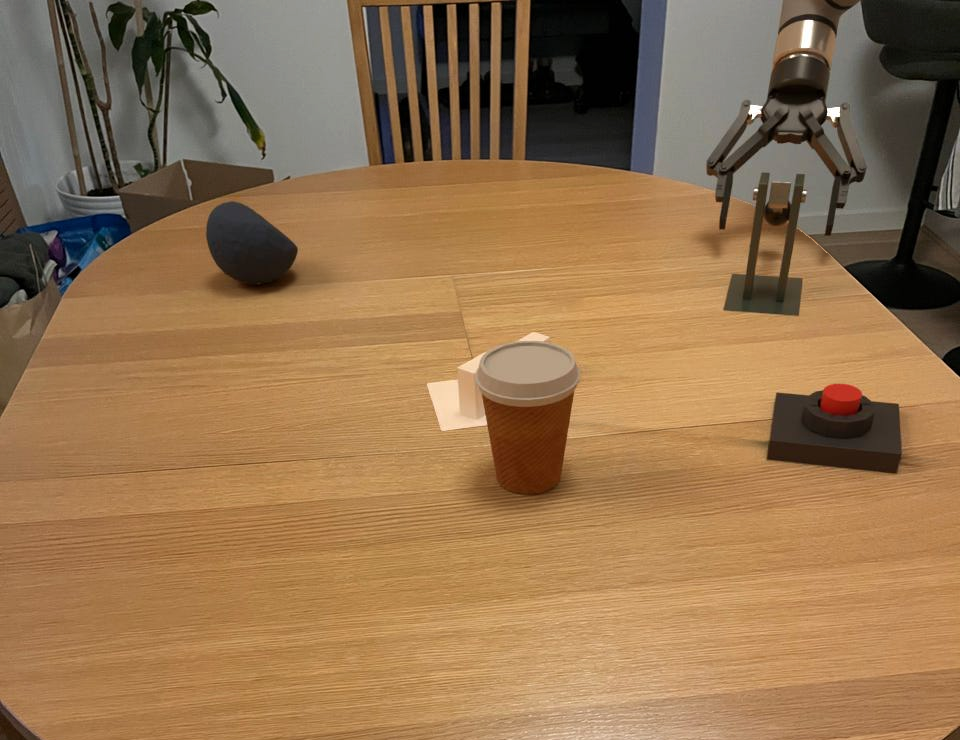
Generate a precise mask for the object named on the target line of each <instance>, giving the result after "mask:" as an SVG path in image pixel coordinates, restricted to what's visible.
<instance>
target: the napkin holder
mask: <svg viewBox="0 0 960 740" xmlns="http://www.w3.org/2000/svg"><path fill="white" fill-rule="evenodd" d="M517 341H543V342H549V343H551V336H548V335H545V334H542V333H539V332H535V331H531V332H530V333H528V334H527V335H524V336H523V337H522V338H520V339H517V340H516V341H515V342H517ZM486 352H487V351H484V352H482V353H480V354H479V355H477V356H475V357H474V358H472V359H470V360H468V361H466V362H464V363H463V364H461V365H460V366H457V367H456V372H457V379H449V380H441V381H433V382H426V387H427V390H428V393H429V396H430V399H431V403H432V406H433V409H434V412H435V415H436V419H437V422H438V425H439V427H440V431H441V432H445V431H453V430H454V431H455V430H461V429H468V428H476V427H485V426H487V421H486V415H485V410H484V404H483V398H482V393H481V391H480V390H479V387H478V386H477V384H476V381H475V373H476V371H477V369H478V368H479V363H480V360H481V358H482V356H483V355H484V354H485V353H486Z"/></svg>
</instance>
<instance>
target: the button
mask: <svg viewBox="0 0 960 740" xmlns="http://www.w3.org/2000/svg"><path fill="white" fill-rule="evenodd" d="M862 395H863V391H862V390H861V389H860V388H858V387H856V386H854V385H851V384H849V383H848V384H847V383H832V384H829V385H826V386H825V387H824V388H823V394H822V399H821V403H820V409H821V410H823V411H824V412H827V413H830V414H833V415H841V416H847V415H853V414H857V412H858V410H859V406H860V402H861V398H862Z"/></svg>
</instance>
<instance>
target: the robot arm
mask: <svg viewBox="0 0 960 740" xmlns="http://www.w3.org/2000/svg"><path fill="white" fill-rule="evenodd" d="M861 1H862V0H782V4H781V5H782V6H781V12H780V17H779V23H778V24H779V25H778V30H777V38H776V40H775V48H774V52H773V53H774V54H773V58H772V59H773V60H772V67H771V68H772V69H771V73H770V79H769V84H768V90H767V95H766V100H765V103H764V104H763V105H756V104H755V105H754V104H752V102H751V100H749V99H744V100H743V101H742V102H741V106H740V109H739V113H738V115H737V117H736V118H735V120H734V121H733V122H732V124H731V125H730V126H729V128H728V130H727V131H726V133H725V134H724V135H723V137H722V138H721V139H720V141H719V142H718V144H716V147H715V148H714V149H713V150H712V152H711V153H710V155H709V156H708V158H707V159H706V167H705V168H706V169H705V170H706V175H707V176H709V177H712V176H714V177H715V178H717V181H716V187H715V191H714V192H715V193H714V194H715V195H714V199H715V203H721V208H720V213H719V219H718V222H719V223H718V224H719V225H718V229H719V230H720V231H723V230H724V231H725V230H726V226H727V225H726V224H727V219H728V214H729V207H730V201H731V195H732V189H733V185H734V182H733V181H734V174H735V173H736V172H737V171H738V170H739V169H741V168H742V166H744V165H745V164H746V163H747V162H748V161H749V160H751V158H753V157H754V156H755V155H756V154H757V153H758V152H759V151H760V150H762V148H766V147H767V146H768V145H769V144H770V143H771V142H772V141H775V142H776V144H779V145H781V144H787V143H790V144H794V145H802V143H804V142H806V143H807V144H808V146H809V147H810V148H811V150H814V151H815V153H816V154H817V156H818V157H819V158H820V160H821V161H822V162H823V164H824V166H825V167H826V168H827V169H828V171H829V172H830V174H831V175H832V176H833V178H834V180H833V185H832V188H831V194H830V201H829V207H828V211H827V212H828V213H827V218H826V224H825V230H824V236H825V237H826V236H828V237H830V236H832V232H833V227H834V223H835V217H836V212H837V209H838V210H839V209H840V210H841V209H842V210H843V209H844V208H845V206H846V203H847V201H848V200H847V199H848V194H849V188H850V185H852V184H853V183H858V184H859V183H862V182H863V181H864V178H865V176H866V174H867V169H868V166H867V164H866V161H865V157H864V155H863V153H862V150H861V147H860V144H859V141H858V139H857V136H856V133H855V130H854V128H853V125H852V122H851V120H850V109H851V107H850V103H848V102H841V104H840V105H839V107H830V108H829V107H828V106H827V103H826V100H827V95H828V89H829V83H830V77H831V72H830V71H831V69H832V64H833V59H834V54H835V53H834V52H835V47H836V42H837V37H838V36H837V35H838V28H839V23H840V19H841V17H842V15H843V14H845V13H846V12H847V11H849V10H850V9H853V7H854V6H856V5H857V4H858V3H860V2H861ZM758 118H760V121H761V122H762V124H761V125H760V126H759V127H758V129H757V130H756V131H755V133H753V134H752V135H751V136H750V137H749V138H748V139H747V140H745V142H744V143H743V144H741V145H740V146H738V148H737V149H736V150H735V151H734V152H732V154H731V155H729V154H730V153H731V151H732V150H733V149H734V147H735V146H736V144H737V143H738V141H739V140H740V139H741V137H742V136H743V134H744V133H745V132H746V129H747V127H748V126H751V125H752V124H753V123H754V122H755V120H756V119H758ZM826 121H829V122H830V123H831V126H832V128H835V129H836V132H837V135H838V136H837V137H838V139H839V142H840V145H841V147H842V151H843V153H844V156H845V158H846V160H847V162H846V161H845V160H844V158H843V156H842V155H841V153H839V152H838V150H837V148H836V147H835V145H834V144H833V143H832V142H831V140H830V139H829V138H828V136H827V134H826V133H825V129H824V128H823V125H824V123H825V122H826ZM728 155H729V156H728Z"/></svg>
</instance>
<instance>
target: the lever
mask: <svg viewBox="0 0 960 740" xmlns="http://www.w3.org/2000/svg"><path fill="white" fill-rule="evenodd" d="M791 187H792V182H790V181H771V185H770V191H769V198H768V201H767V202H766V204H765V210H764V217H763V220H764V222H766V224H768V225H769V226H770V227H781V226H783V225H785V224H786V223H788V221H789V215H790V209H791V203H792V202H791V201H790V194H791Z"/></svg>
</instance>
